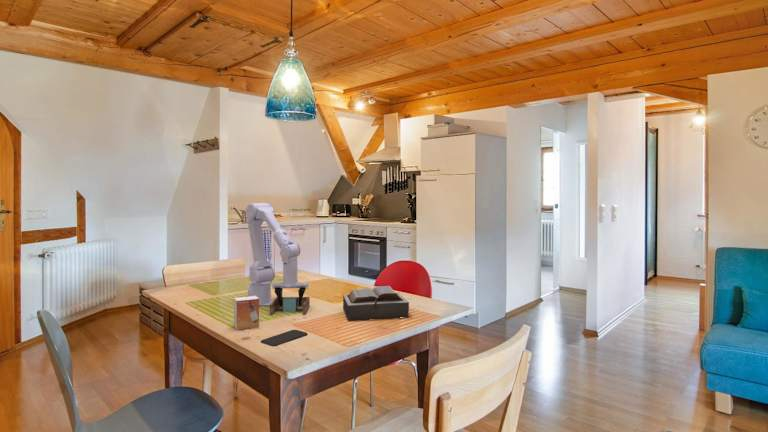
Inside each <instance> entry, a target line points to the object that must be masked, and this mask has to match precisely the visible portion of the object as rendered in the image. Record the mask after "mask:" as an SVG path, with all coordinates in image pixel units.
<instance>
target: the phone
mask: <svg viewBox="0 0 768 432" xmlns="http://www.w3.org/2000/svg"><path fill="white" fill-rule="evenodd" d="M306 336H308V332H306V331H301V330H299V329H290V330H288V331H285V332H282V333H280V334H276V335H273V336H270V337H267V338H263V339H261V340H260V343H261V344H264V345H267V346H271V347H277V346H280V345H283V344H286V343H288V342H292V341H294V340H298V339H300V338H301V339H302V338H304V337H306Z"/></svg>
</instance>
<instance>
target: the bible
mask: <svg viewBox="0 0 768 432" xmlns="http://www.w3.org/2000/svg"><path fill="white" fill-rule="evenodd" d="M342 309H343V312H344V314H345V317H346V319H347V321H348V322H357V321H374V320H373V319H379V320H388V319H387V318H398V319H401V318H400V317H408V318H409V316H410V314H409V310H410V301H408V300H407V299H406V298H405V297H404V296H403V295H402V294H400V293H399V292H397V291H396V292H395V291H394V289H393V288H392V287H391V286H390V285H383V286H382V285H380V286H376V287H373V289H370V288H360V289H352V290H351V291H350V292H349V294H342ZM370 319H372V320H370Z"/></svg>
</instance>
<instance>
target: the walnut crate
mask: <svg viewBox="0 0 768 432" xmlns="http://www.w3.org/2000/svg"><path fill="white" fill-rule="evenodd" d="M285 297H286V296H282V306H280V304H279V300H278V298H277V296H276V297H275V298H274V299H273V302H272V303H271V304H270V305H269V316H273V314H275V312H276V311H277V309H279V308H283V300H284V298H285ZM296 297H297V302H298V308H299V307H301V308H302V316H304V315H306V314H307V312H308V310H309V308H310V298H311V297H310V296H303V297H302V301H301V306H299V296H296Z"/></svg>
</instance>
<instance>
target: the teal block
mask: <svg viewBox="0 0 768 432" xmlns="http://www.w3.org/2000/svg"><path fill="white" fill-rule="evenodd" d="M284 297H285V298H284V300H283V307H282V308H283V309H282V310H283V313H296V312H297V310H298V309H299V307H298V302H297V297H298V296H284Z"/></svg>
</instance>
